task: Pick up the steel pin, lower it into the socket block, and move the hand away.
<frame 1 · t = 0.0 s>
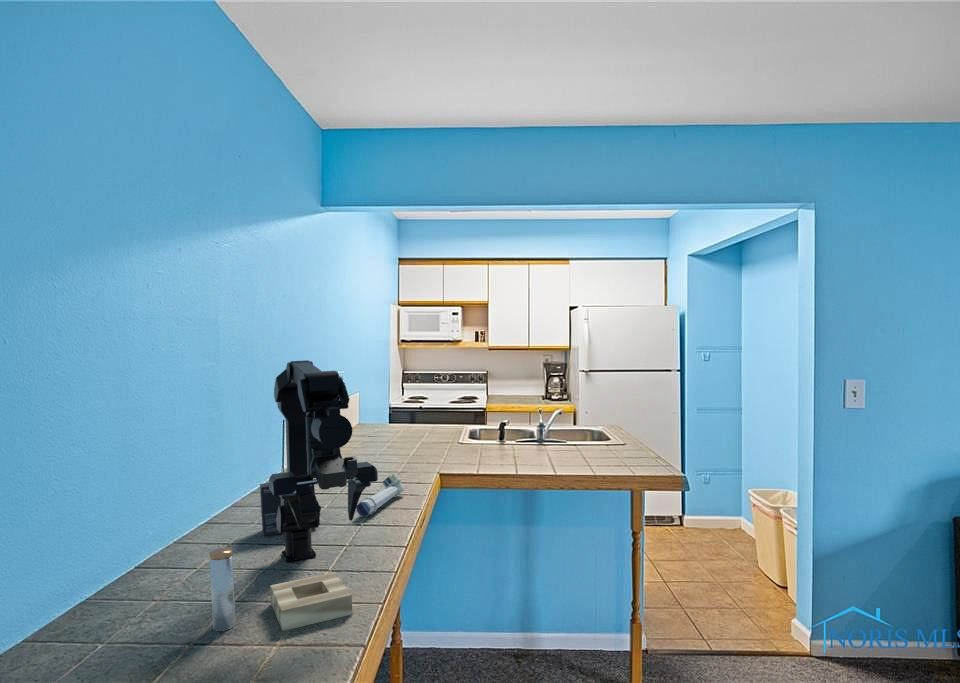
hand: (326, 524, 116), 15 cm above the countertop, tool pointing down, fingers open, 9 cm apart
steel pin: (224, 626, 108), on the countertop
white blue cylinder: (375, 487, 179), point 5 cm above the countertop
small box: (289, 530, 160), on the countertop
socket block: (310, 609, 114), on the countertop
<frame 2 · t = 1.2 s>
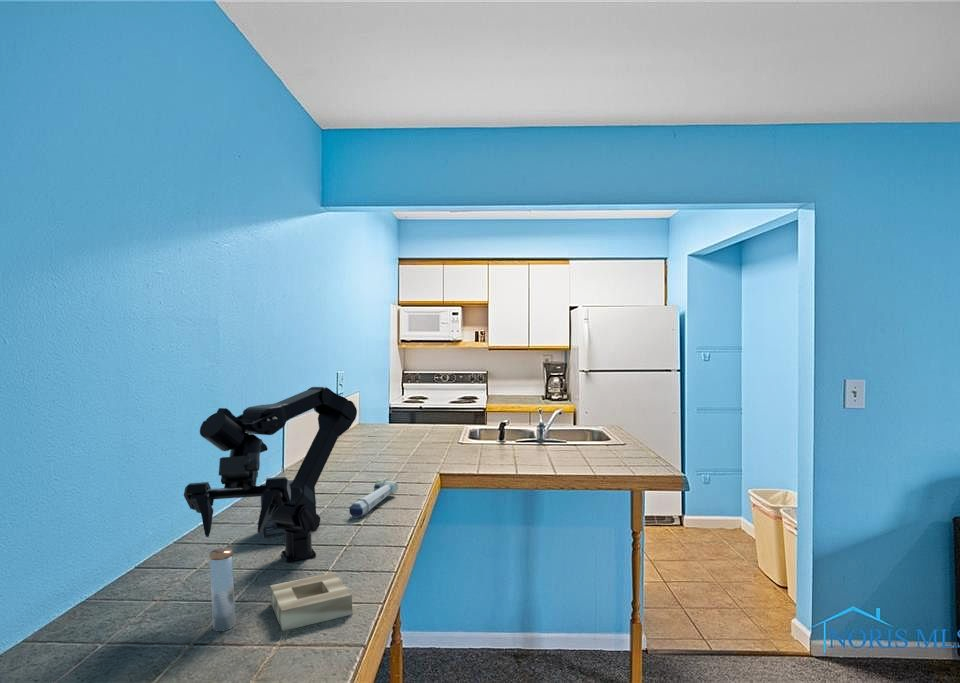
hand: (233, 534, 116), 13 cm above the countertop, tool tilted 45°, fingers open, 9 cm apart
white blue cylinder: (364, 496, 180), point 2 cm above the countertop
everything else where it was.
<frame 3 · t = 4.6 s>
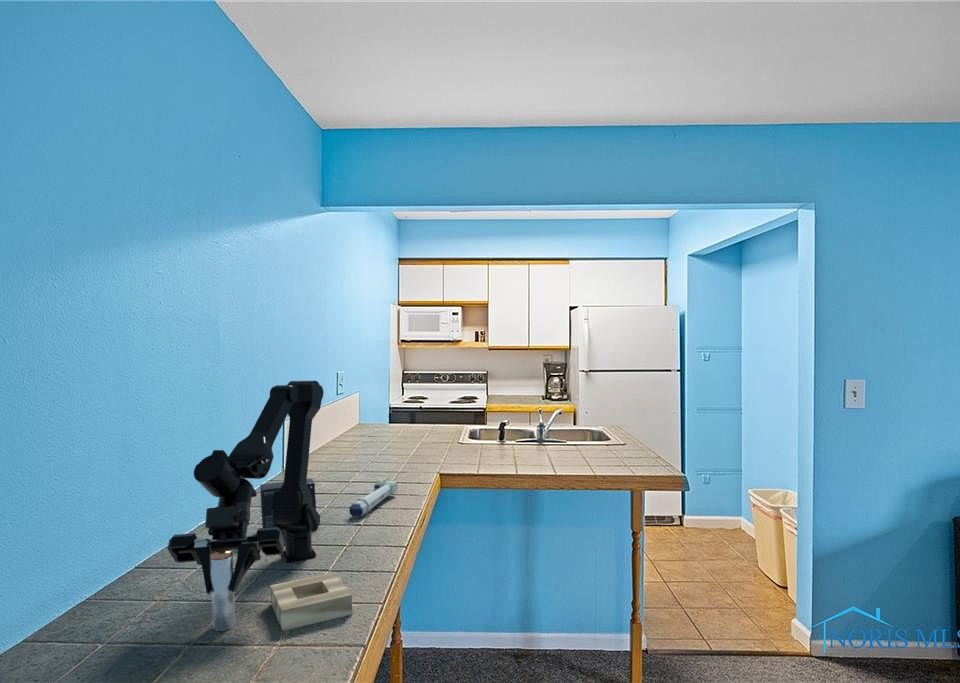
hand: (220, 592, 107), 7 cm above the countertop, tool tilted 45°, fingers closed on steel pin, 4 cm apart
steel pin: (224, 626, 108), on the countertop, touching gripper
everything else where it was.
when the fingers open (8 cm above the countertop, at t = 8.6 s): steel pin drops 1 cm, resting in socket block.
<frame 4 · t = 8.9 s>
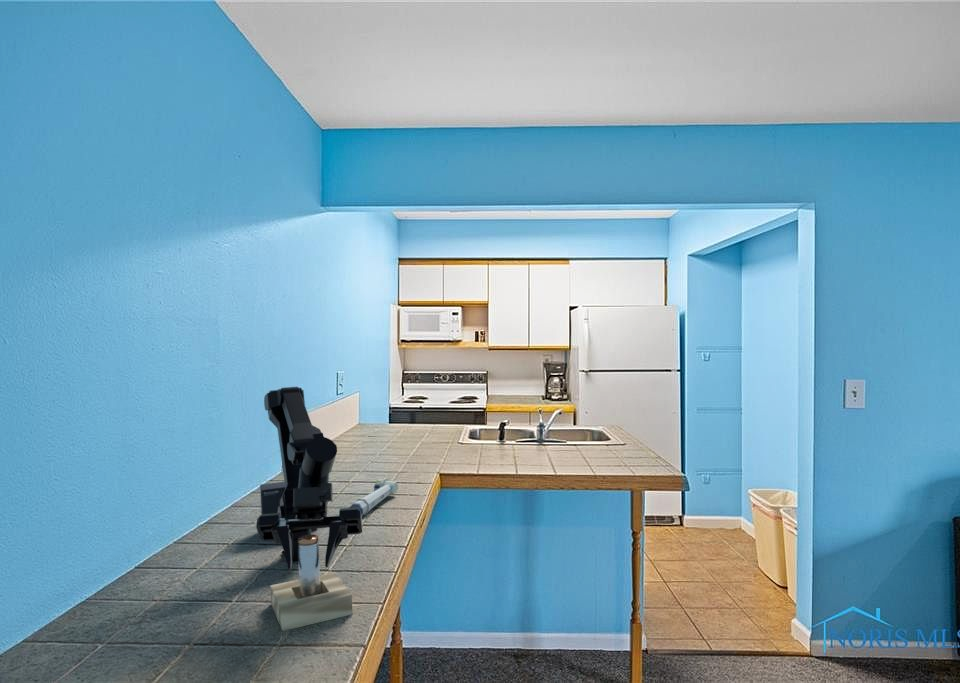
hand: (308, 567, 113), 8 cm above the countertop, tool tilted 45°, fingers open, 6 cm apart
steel pin: (310, 609, 114), resting in socket block
everything else where it was.
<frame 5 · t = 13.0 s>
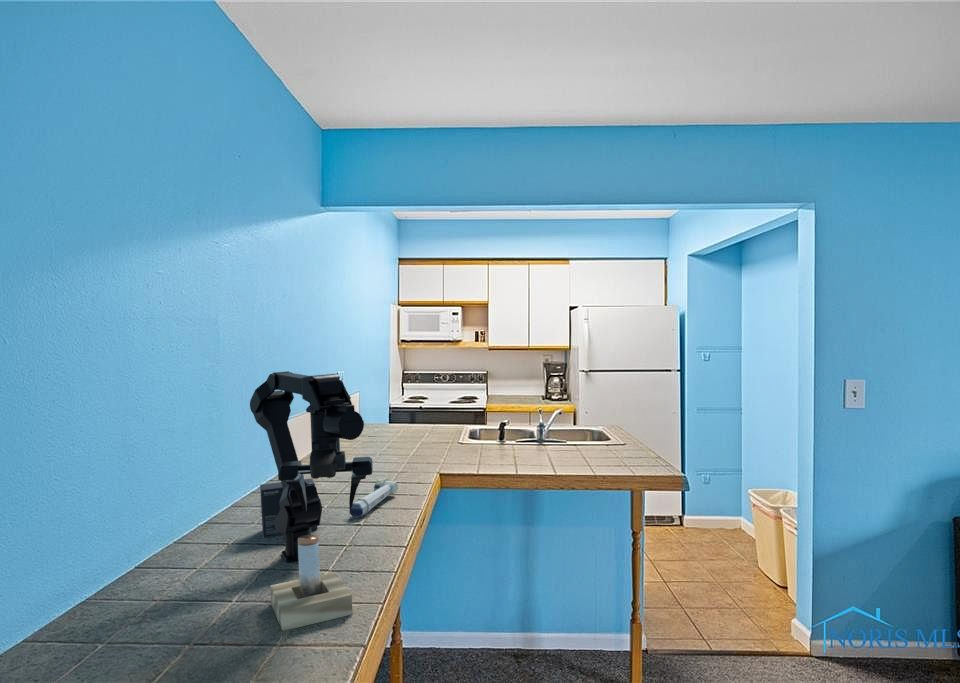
hand: (328, 509, 131), 13 cm above the countertop, tool pointing down, fingers open, 9 cm apart
nothing on the countertop moved.
at the end: steel pin 0.1 cm off-centre on the socket block, point 0.0 cm above the socket block's base; steel pin tilted 0°; the gripper is holding nothing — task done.
